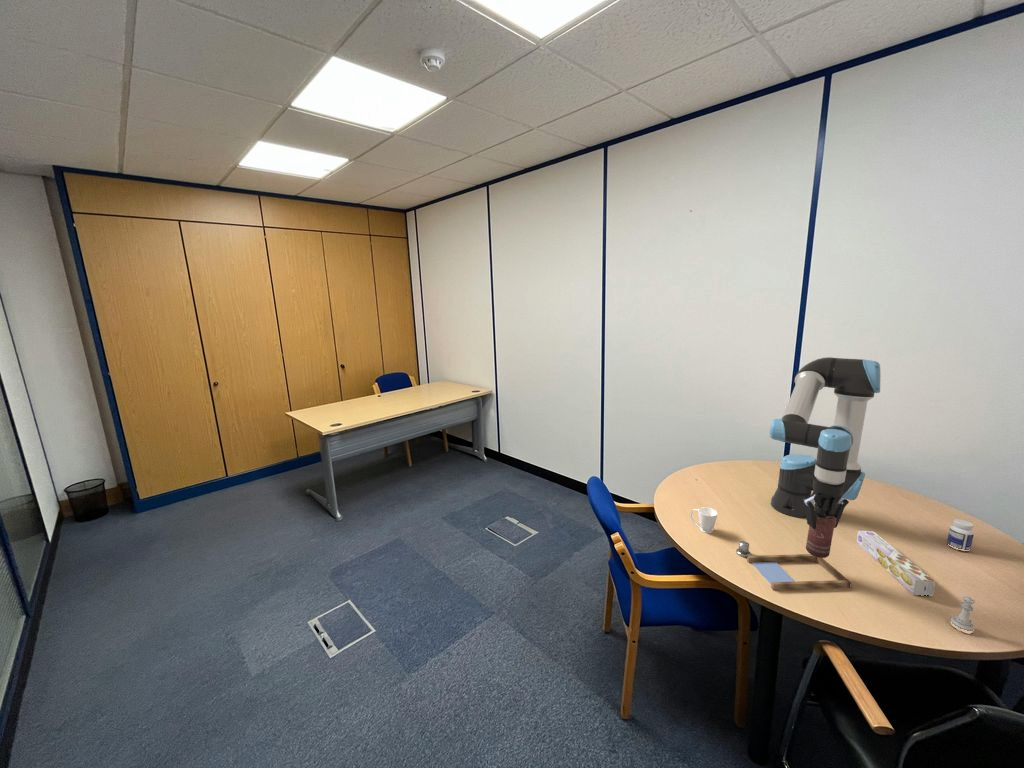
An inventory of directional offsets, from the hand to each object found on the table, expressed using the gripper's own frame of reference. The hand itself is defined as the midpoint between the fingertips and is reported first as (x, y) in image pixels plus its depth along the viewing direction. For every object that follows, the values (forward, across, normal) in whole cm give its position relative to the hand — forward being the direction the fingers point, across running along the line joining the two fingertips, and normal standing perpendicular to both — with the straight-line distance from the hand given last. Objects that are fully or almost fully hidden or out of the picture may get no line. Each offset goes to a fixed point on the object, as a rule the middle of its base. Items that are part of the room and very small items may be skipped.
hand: (818, 545), depth 130 cm
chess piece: (+10, -22, +24) cm, 34 cm away
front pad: (+10, +14, +1) cm, 17 cm away
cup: (+10, +25, -26) cm, 37 cm away
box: (+11, -26, -1) cm, 28 cm away
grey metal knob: (+10, +18, -10) cm, 23 cm away
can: (+3, 0, 0) cm, 3 cm away
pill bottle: (+11, -58, -10) cm, 60 cm away
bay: (+10, +7, +1) cm, 12 cm away
